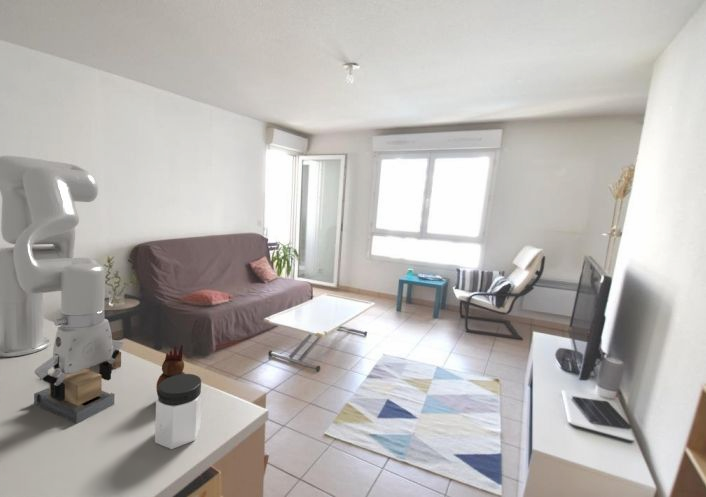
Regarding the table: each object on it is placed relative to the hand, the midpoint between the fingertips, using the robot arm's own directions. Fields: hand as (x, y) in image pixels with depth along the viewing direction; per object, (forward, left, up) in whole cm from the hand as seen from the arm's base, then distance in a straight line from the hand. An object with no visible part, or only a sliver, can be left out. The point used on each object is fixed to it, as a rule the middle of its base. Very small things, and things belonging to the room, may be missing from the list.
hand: (83, 388), depth 75 cm
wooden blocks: (-16, +11, -5) cm, 20 cm away
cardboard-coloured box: (-3, 0, -2) cm, 3 cm away
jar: (+26, +3, -5) cm, 27 cm away
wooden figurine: (+15, +11, -5) cm, 19 cm away
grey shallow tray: (-3, 0, -5) cm, 6 cm away
